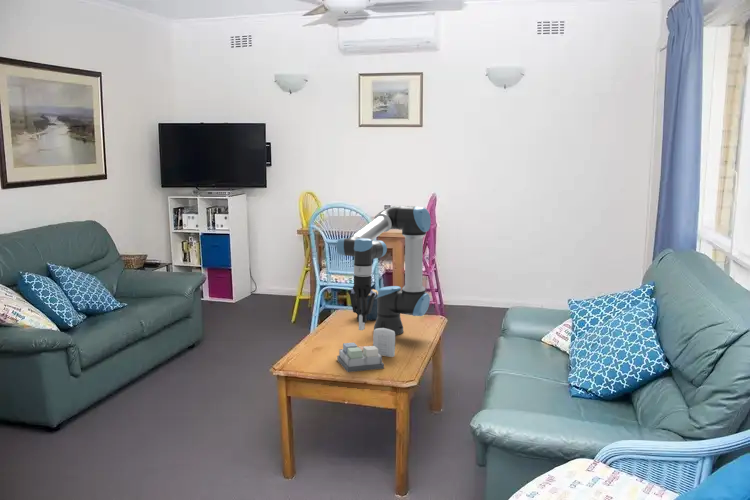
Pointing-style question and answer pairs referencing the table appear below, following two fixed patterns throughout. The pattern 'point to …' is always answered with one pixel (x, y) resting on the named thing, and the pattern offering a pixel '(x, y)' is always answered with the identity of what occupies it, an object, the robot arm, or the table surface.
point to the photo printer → (384, 341)
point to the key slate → (348, 345)
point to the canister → (373, 307)
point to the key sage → (354, 353)
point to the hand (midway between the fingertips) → (361, 329)
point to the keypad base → (360, 362)
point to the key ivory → (370, 351)
